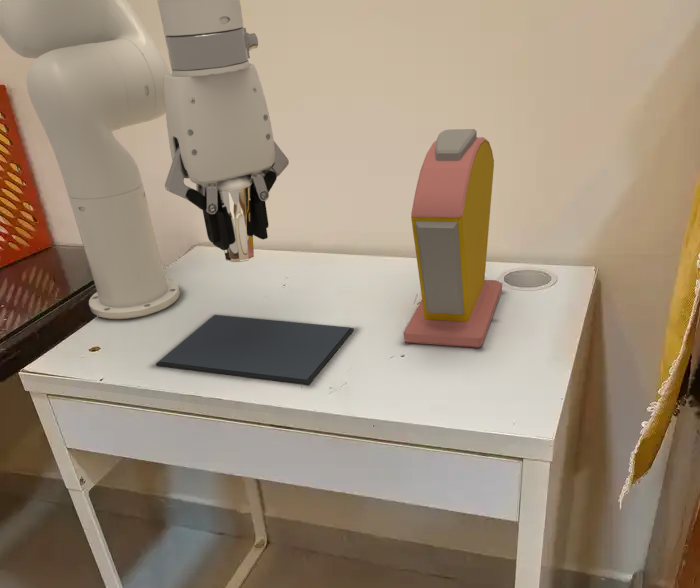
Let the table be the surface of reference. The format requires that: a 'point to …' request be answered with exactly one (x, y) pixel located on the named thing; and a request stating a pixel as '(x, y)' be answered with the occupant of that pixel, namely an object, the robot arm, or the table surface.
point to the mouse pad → (258, 348)
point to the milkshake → (237, 216)
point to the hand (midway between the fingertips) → (240, 239)
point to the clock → (453, 242)
